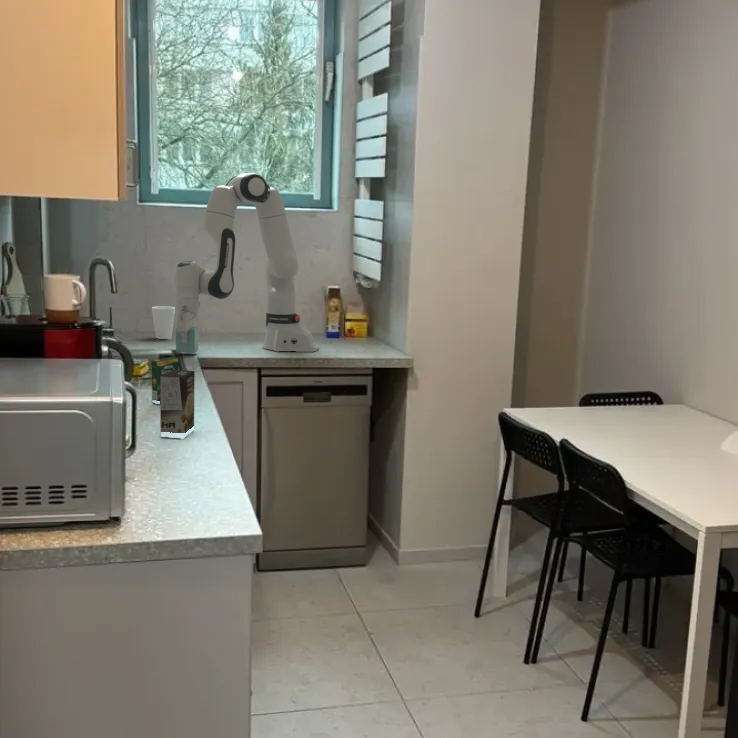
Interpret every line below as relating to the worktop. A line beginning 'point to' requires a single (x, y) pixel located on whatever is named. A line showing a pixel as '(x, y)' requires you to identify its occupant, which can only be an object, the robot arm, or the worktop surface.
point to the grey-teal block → (192, 341)
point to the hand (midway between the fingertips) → (187, 341)
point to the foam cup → (163, 321)
